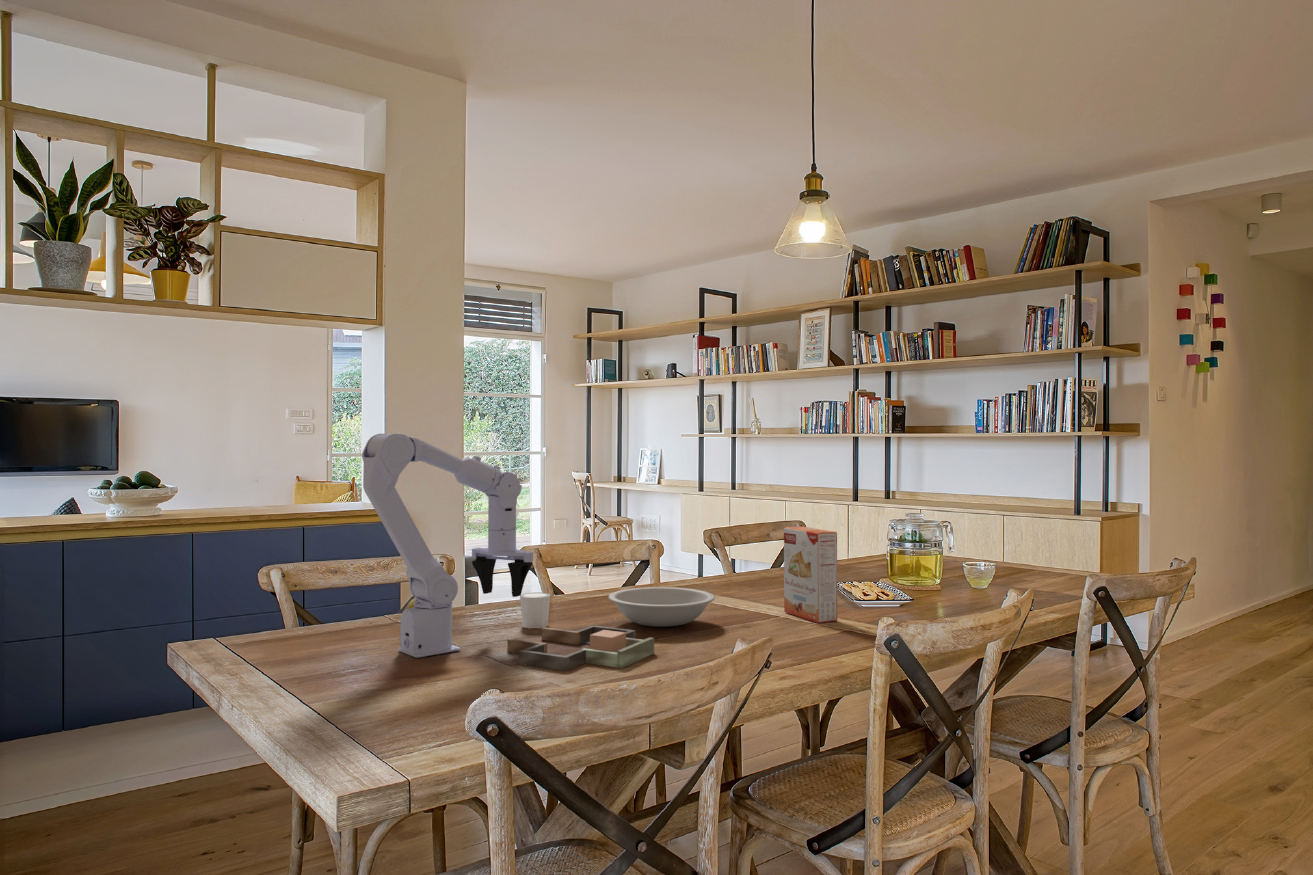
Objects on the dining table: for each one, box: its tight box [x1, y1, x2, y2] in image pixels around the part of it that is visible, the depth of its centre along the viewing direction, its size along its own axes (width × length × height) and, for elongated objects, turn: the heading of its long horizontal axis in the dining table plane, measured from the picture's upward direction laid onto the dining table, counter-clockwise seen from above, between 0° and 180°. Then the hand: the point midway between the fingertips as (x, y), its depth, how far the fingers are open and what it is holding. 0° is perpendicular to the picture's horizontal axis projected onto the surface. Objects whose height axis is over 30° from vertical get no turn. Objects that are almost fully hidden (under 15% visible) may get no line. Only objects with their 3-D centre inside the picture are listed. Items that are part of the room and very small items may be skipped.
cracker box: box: [783, 525, 838, 624], centre depth 200 cm, size 14×6×21 cm, turn 25°
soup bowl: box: [608, 586, 716, 628], centre depth 191 cm, size 24×24×7 cm
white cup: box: [519, 592, 551, 629], centre depth 189 cm, size 7×7×7 cm
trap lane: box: [506, 625, 655, 672], centre depth 165 cm, size 26×25×3 cm
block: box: [589, 630, 626, 653], centre depth 162 cm, size 5×5×4 cm
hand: (501, 594), depth 176 cm, fingers open, 7 cm apart
